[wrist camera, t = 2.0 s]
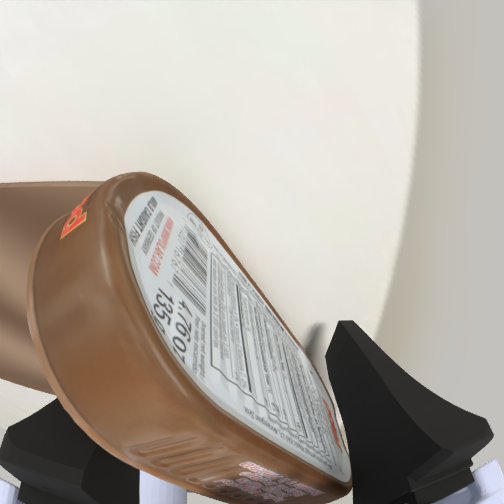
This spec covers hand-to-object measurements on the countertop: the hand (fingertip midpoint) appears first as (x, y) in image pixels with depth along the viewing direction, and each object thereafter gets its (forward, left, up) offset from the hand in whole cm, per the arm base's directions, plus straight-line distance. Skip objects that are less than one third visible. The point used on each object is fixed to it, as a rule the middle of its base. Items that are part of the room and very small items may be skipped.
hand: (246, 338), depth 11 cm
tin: (0, 0, -2) cm, 2 cm away
